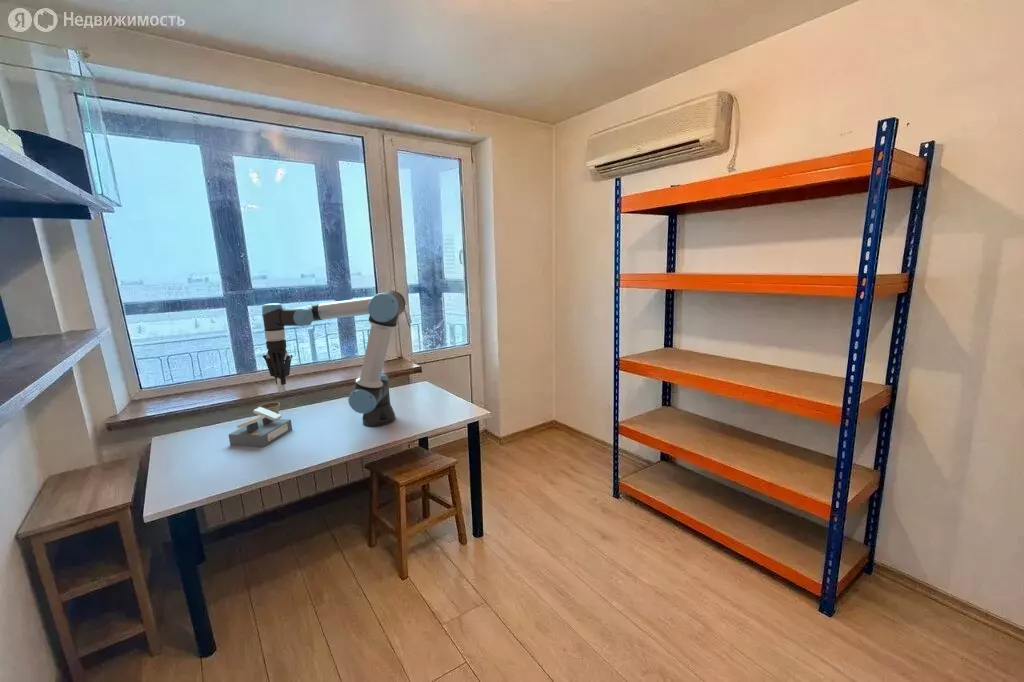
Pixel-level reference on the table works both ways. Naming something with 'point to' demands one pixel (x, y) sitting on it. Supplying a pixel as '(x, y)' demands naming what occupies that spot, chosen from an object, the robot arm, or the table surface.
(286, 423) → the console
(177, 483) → the table surface
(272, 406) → the flower pot
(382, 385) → the robot arm
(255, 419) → the rocker
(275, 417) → the rocker
